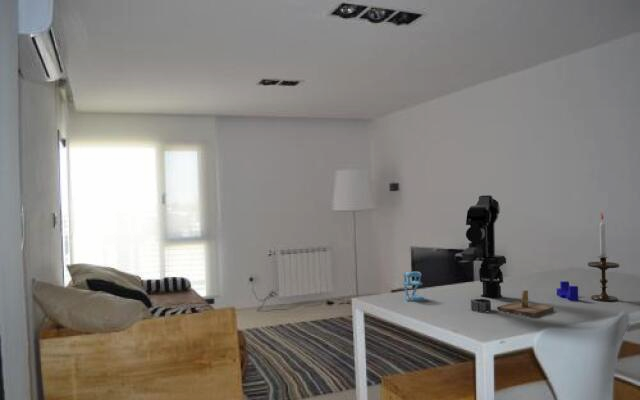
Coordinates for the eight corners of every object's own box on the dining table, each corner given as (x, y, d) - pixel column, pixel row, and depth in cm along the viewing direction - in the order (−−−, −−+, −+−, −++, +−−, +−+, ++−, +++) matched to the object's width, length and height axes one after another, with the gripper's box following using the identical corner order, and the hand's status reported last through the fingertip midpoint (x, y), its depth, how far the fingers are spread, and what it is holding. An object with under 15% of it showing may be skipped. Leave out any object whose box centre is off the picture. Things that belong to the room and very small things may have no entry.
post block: (497, 310, 178) (496, 290, 178) (517, 305, 186) (517, 285, 186) (533, 317, 167) (532, 296, 167) (553, 311, 175) (552, 290, 175)
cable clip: (556, 295, 203) (556, 281, 203) (568, 295, 202) (567, 281, 202) (566, 301, 191) (565, 286, 191) (578, 301, 190) (577, 286, 190)
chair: (418, 296, 208) (417, 268, 207) (425, 300, 199) (424, 271, 199) (400, 297, 206) (400, 269, 206) (407, 301, 198) (406, 272, 198)
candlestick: (590, 295, 200) (588, 212, 200) (620, 298, 193) (618, 211, 193) (587, 300, 191) (584, 213, 191) (619, 303, 185) (616, 212, 185)
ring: (467, 309, 181) (467, 300, 181) (478, 307, 185) (478, 298, 185) (483, 312, 175) (483, 303, 175) (494, 309, 179) (493, 300, 179)
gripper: (445, 240, 182) (446, 281, 183) (488, 243, 168) (489, 287, 168) (463, 238, 189) (464, 277, 189) (506, 240, 174) (507, 283, 175)
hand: (480, 281), depth 180 cm, fingers open, 9 cm apart
